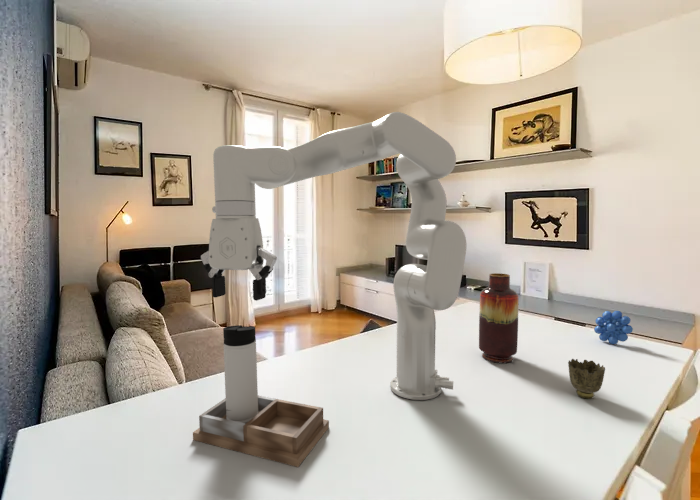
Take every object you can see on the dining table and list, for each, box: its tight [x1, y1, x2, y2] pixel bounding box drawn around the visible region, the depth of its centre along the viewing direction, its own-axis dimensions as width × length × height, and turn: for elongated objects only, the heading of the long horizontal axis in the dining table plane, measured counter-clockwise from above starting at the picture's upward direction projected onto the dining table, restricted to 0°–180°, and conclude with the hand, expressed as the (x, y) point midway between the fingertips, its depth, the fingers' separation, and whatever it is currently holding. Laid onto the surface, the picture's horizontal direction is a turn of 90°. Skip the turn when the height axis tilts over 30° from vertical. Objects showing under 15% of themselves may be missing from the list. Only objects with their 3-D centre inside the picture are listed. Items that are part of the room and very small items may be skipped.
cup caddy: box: [192, 395, 330, 468], centre depth 72 cm, size 23×13×4 cm, turn 70°
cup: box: [567, 358, 606, 400], centre depth 87 cm, size 8×7×8 cm
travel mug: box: [222, 324, 259, 424], centre depth 73 cm, size 6×7×20 cm
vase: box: [478, 272, 520, 364], centre depth 112 cm, size 11×11×26 cm
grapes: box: [594, 310, 634, 345], centre depth 125 cm, size 12×7×12 cm, turn 28°
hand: (238, 297), depth 72 cm, fingers open, 9 cm apart
